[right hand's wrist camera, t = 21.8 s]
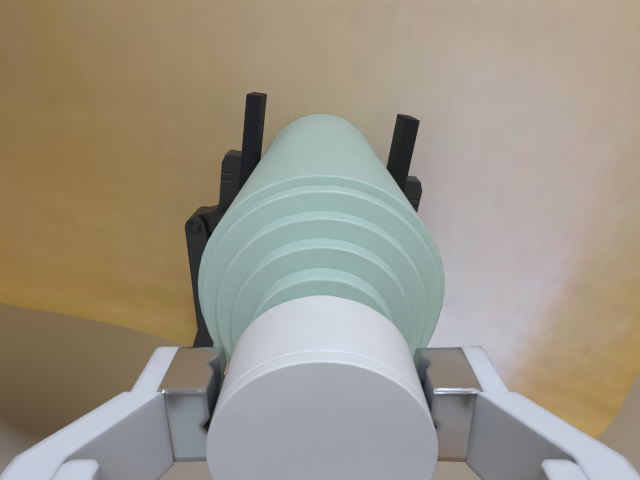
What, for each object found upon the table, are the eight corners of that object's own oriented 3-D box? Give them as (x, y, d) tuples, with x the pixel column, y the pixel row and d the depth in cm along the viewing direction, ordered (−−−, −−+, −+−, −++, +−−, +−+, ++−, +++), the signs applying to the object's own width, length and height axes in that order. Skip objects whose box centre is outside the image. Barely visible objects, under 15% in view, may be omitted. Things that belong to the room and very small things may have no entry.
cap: (226, 439, 11) (203, 531, 9) (233, 285, 9) (207, 349, 7) (396, 454, 11) (414, 547, 9) (429, 304, 10) (461, 373, 7)
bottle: (375, 112, 31) (553, 244, 7) (373, 218, 33) (498, 565, 10) (263, 115, 31) (81, 256, 7) (270, 221, 33) (155, 572, 10)
